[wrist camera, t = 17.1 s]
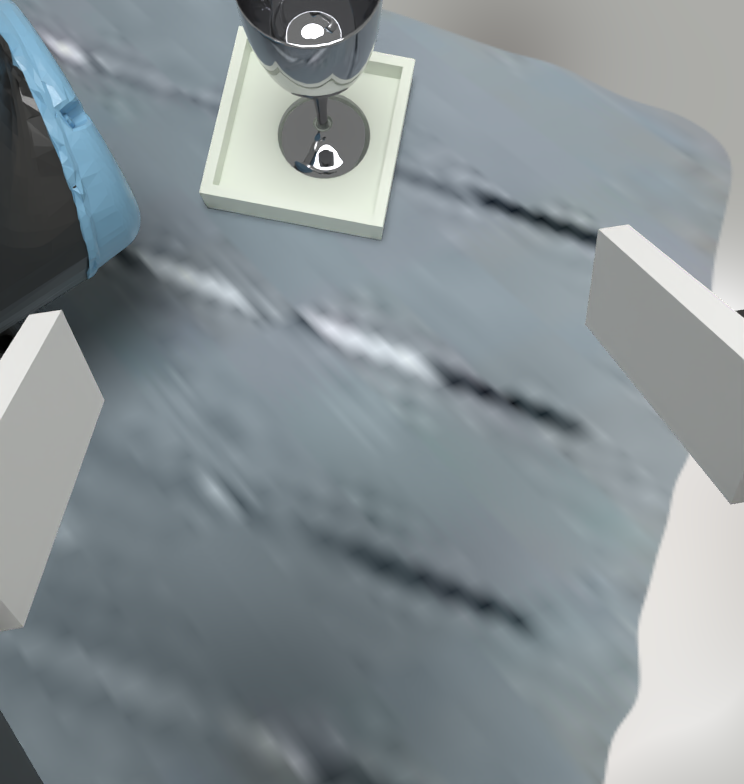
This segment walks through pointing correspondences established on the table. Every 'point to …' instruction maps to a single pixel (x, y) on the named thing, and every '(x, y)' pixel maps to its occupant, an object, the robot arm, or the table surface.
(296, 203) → the white tray
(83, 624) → the table surface
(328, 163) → the wine glass
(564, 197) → the table surface
